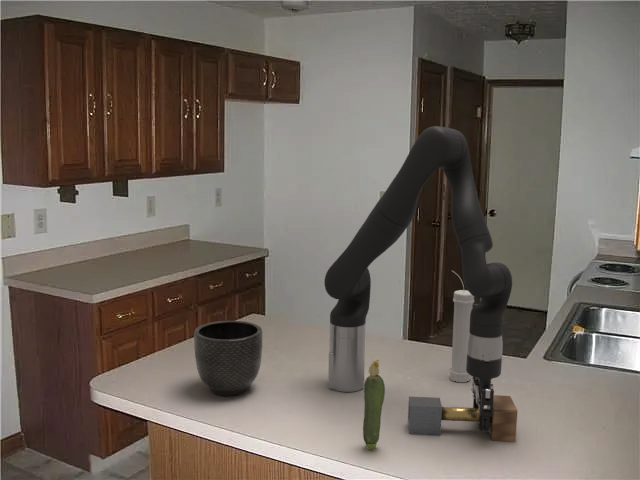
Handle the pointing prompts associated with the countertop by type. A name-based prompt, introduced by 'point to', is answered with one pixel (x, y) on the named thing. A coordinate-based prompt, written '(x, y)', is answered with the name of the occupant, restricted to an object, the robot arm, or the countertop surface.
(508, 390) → the countertop surface
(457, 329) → the pipe
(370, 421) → the vegetable
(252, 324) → the planter
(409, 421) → the sleeve
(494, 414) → the socket
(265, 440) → the countertop surface
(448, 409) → the tube
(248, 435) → the countertop surface
